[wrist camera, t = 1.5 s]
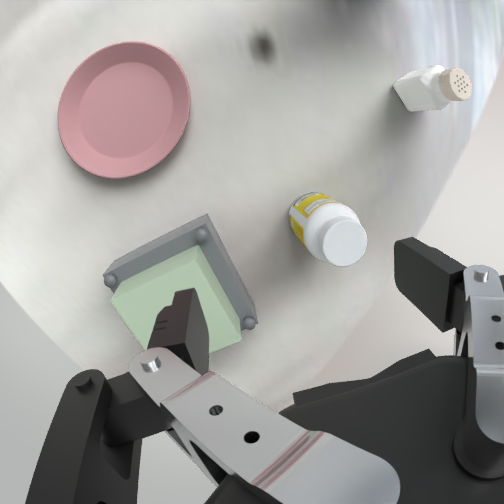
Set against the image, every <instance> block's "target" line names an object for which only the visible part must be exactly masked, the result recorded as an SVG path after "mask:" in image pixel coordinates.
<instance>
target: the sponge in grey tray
mask: <svg viewBox="0 0 504 504" xmlns="http://www.w3.org/2000/svg"><path fill="white" fill-rule="evenodd" d="M103 277H104V283H105V285H106V286H107V287H110V288H111V290H112V291H113V293H114V294H113V296H112V298H111V299H110V302H111V303H112V305H113V306H114V308H115V309H116V311H117V312H118V314H119V315H120V317H121V318H122V319H123V321H124V322H125V324H126V325H127V327H128V328H129V329H130V331H131V332H132V333H133V335H134V336H135V338H136V339H137V340H138V342H139V343H140V344H141V346H142V347H143V348H144V350H147V347H148V343H149V340H150V337H151V333H152V331H153V327H154V324H155V320H156V317H157V314H158V313H159V312H160V311H161V310H162V309H163V308H164V307H165V306H170V305H172V301H173V298H174V294H175V292H176V291H180V290H185V289H189V288H195V289H196V292H197V294H198V298H199V301H200V304H201V307H202V310H203V313H204V316H205V320H206V323H207V327H208V331H209V353H212V352H214V351H217V350H220V349H222V348H225V347H227V346H230V345H232V344H235V343H237V342H239V341H242V336H241V330H244V329H247V330H251V329H253V328H254V327H255V325H256V324H258V320H257V315H256V310H255V305H254V303H253V301H252V299H251V298H250V296H249V294H248V292H247V290H246V288H245V286H244V284H243V282H242V280H241V278H240V277H239V275H238V273H237V271H236V269H235V267H234V265H233V263H232V261H231V259H230V257H229V255H228V253H227V251H226V249H225V247H224V246H223V244H222V242H221V240H220V238H219V236H218V234H217V232H216V230H215V228H214V226H213V224H212V222H211V220H210V218H209V216H208V214H206V215H204V216H201V217H199V218H197V219H195V220H193V221H191V222H189V223H187V224H185V225H183V226H181V227H179V228H177V229H175V230H173V231H171V232H169V233H167V234H165V235H163V236H161V237H159V238H157V239H155V240H153V241H151V242H149V243H147V244H146V245H144V246H142V247H140V248H138V249H136V250H134V251H132V252H130V253H128V254H126V255H125V256H123V257H121V258H119V259H117V260H115V261H114V262H113V263H112V264H111V265H110V267H109V268H108V269H107V270H106V272H105V273H104V274H103Z"/></svg>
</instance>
